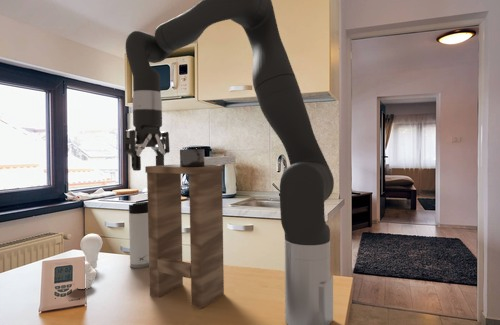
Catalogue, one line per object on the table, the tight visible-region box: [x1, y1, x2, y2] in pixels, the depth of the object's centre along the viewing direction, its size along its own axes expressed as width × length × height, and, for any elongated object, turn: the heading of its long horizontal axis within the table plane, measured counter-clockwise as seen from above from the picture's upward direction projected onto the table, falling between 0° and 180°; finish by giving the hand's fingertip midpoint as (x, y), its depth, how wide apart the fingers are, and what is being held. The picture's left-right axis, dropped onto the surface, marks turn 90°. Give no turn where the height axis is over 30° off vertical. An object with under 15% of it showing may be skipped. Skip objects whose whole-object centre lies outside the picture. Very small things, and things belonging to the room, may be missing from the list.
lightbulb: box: [79, 233, 104, 269], centre depth 105 cm, size 6×6×11 cm
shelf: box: [144, 164, 225, 310], centre depth 86 cm, size 16×10×32 cm, turn 61°
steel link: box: [179, 149, 236, 167], centre depth 88 cm, size 6×20×4 cm, turn 151°
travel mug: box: [128, 201, 149, 269], centre depth 109 cm, size 6×7×20 cm
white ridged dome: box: [84, 261, 97, 290], centre depth 91 cm, size 6×6×7 cm
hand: (148, 169), depth 94 cm, fingers open, 8 cm apart
